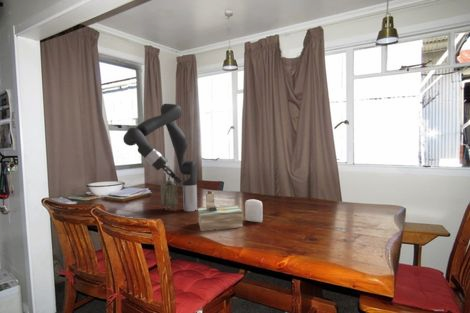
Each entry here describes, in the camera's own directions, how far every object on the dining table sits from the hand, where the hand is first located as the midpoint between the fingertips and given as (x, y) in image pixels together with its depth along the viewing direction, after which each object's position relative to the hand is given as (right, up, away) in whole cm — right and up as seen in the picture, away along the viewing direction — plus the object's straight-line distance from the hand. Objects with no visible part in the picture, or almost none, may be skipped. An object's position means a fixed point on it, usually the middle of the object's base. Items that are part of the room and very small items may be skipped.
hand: (180, 182), depth 150 cm
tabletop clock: (-16, -23, +43) cm, 51 cm away
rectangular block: (+21, -24, +5) cm, 32 cm away
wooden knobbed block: (+16, -16, +4) cm, 23 cm away
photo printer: (+40, -23, +11) cm, 48 cm away
